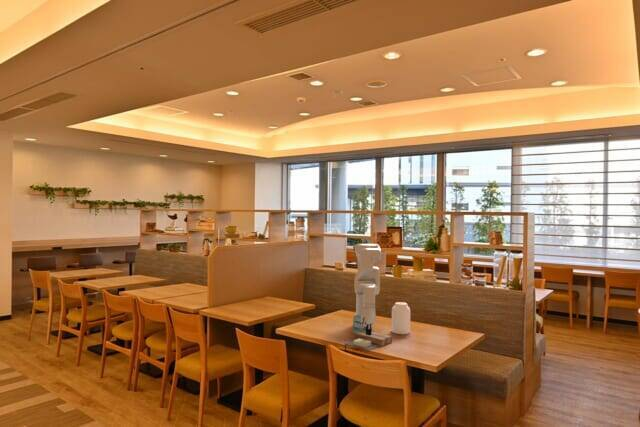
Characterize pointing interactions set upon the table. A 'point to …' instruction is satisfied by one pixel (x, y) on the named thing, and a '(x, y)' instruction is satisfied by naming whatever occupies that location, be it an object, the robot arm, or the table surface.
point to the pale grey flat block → (362, 342)
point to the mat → (363, 347)
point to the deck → (374, 337)
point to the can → (400, 318)
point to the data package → (358, 324)
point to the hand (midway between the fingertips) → (368, 334)
